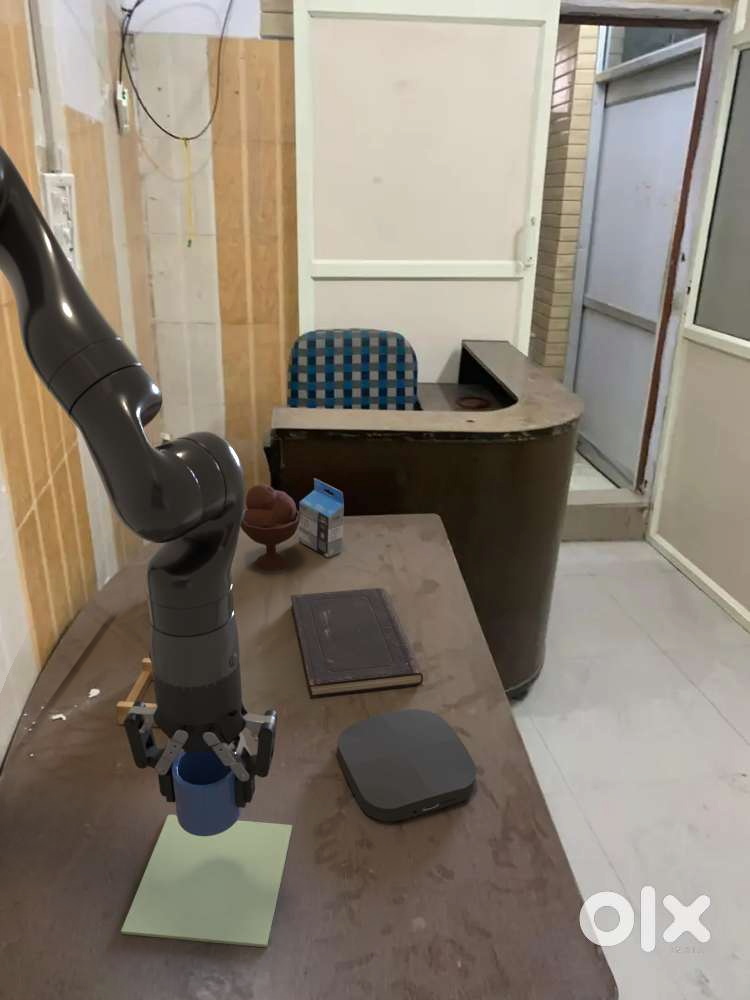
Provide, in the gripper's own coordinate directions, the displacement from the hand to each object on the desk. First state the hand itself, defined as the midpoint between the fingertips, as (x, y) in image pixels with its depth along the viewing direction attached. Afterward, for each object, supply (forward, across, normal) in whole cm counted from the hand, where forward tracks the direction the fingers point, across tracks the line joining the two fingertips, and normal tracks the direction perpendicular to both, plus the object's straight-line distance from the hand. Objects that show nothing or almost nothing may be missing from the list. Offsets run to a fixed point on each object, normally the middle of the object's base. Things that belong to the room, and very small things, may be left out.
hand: (208, 797), depth 74 cm
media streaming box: (+11, -19, -17) cm, 28 cm away
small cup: (+2, 0, 0) cm, 2 cm away
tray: (+11, +12, -26) cm, 31 cm away
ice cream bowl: (+11, +7, -65) cm, 66 cm away
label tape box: (+11, -1, -72) cm, 73 cm away
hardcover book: (+11, -10, -42) cm, 44 cm away
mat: (+11, 0, 0) cm, 11 cm away
